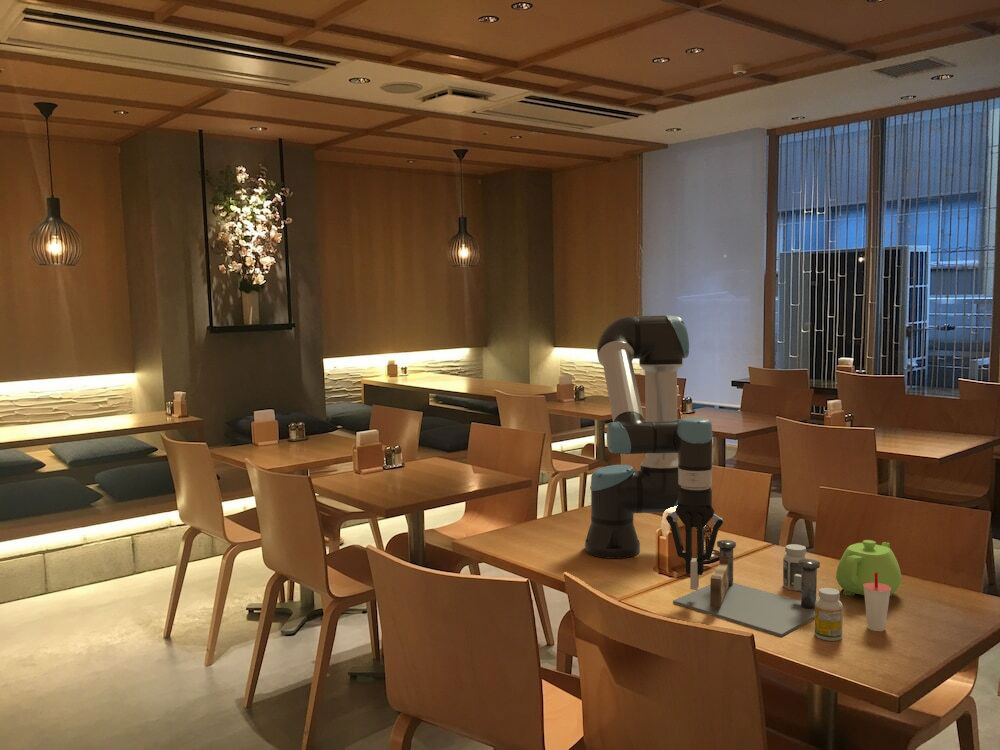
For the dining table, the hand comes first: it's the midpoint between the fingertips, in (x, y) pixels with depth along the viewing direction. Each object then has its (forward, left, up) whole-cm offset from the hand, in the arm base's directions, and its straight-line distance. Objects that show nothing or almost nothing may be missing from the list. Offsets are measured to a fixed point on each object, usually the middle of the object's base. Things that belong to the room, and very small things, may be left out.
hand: (694, 587), depth 192 cm
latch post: (+19, +14, -4) cm, 24 cm away
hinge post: (-1, +14, -4) cm, 15 cm away
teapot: (+25, +33, -4) cm, 42 cm away
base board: (+10, +6, -4) cm, 13 cm away
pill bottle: (+11, +25, -4) cm, 28 cm away
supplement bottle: (+30, +3, -4) cm, 31 cm away
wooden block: (+4, +5, -2) cm, 6 cm away
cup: (+35, +14, -4) cm, 38 cm away
